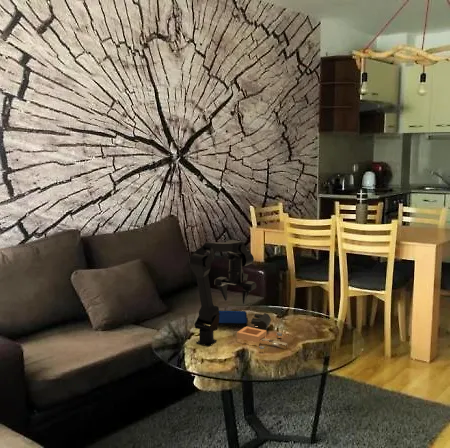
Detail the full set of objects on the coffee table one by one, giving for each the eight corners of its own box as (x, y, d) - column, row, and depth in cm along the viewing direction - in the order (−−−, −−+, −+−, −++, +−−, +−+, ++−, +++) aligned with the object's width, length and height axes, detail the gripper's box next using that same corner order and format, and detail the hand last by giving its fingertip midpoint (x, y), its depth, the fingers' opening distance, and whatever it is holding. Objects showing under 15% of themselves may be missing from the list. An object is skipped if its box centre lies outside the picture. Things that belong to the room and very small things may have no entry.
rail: (276, 356, 223) (277, 350, 223) (227, 345, 234) (227, 339, 234) (294, 341, 239) (294, 335, 238) (247, 331, 250) (247, 325, 250)
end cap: (266, 335, 245) (267, 320, 244) (251, 333, 247) (251, 319, 246) (270, 327, 255) (271, 313, 253) (255, 326, 256) (255, 311, 255)
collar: (258, 347, 233) (258, 336, 232) (237, 342, 238) (237, 332, 237) (266, 340, 240) (266, 330, 239) (245, 336, 245) (245, 326, 244)
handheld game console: (248, 320, 264) (248, 301, 262) (246, 330, 251) (246, 311, 249) (215, 319, 266) (215, 300, 264) (211, 329, 253) (211, 310, 251)
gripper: (262, 267, 251) (261, 300, 254) (226, 262, 260) (225, 294, 263) (251, 272, 242) (250, 307, 244) (214, 267, 250) (213, 300, 253)
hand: (234, 302), depth 251 cm, fingers open, 9 cm apart
